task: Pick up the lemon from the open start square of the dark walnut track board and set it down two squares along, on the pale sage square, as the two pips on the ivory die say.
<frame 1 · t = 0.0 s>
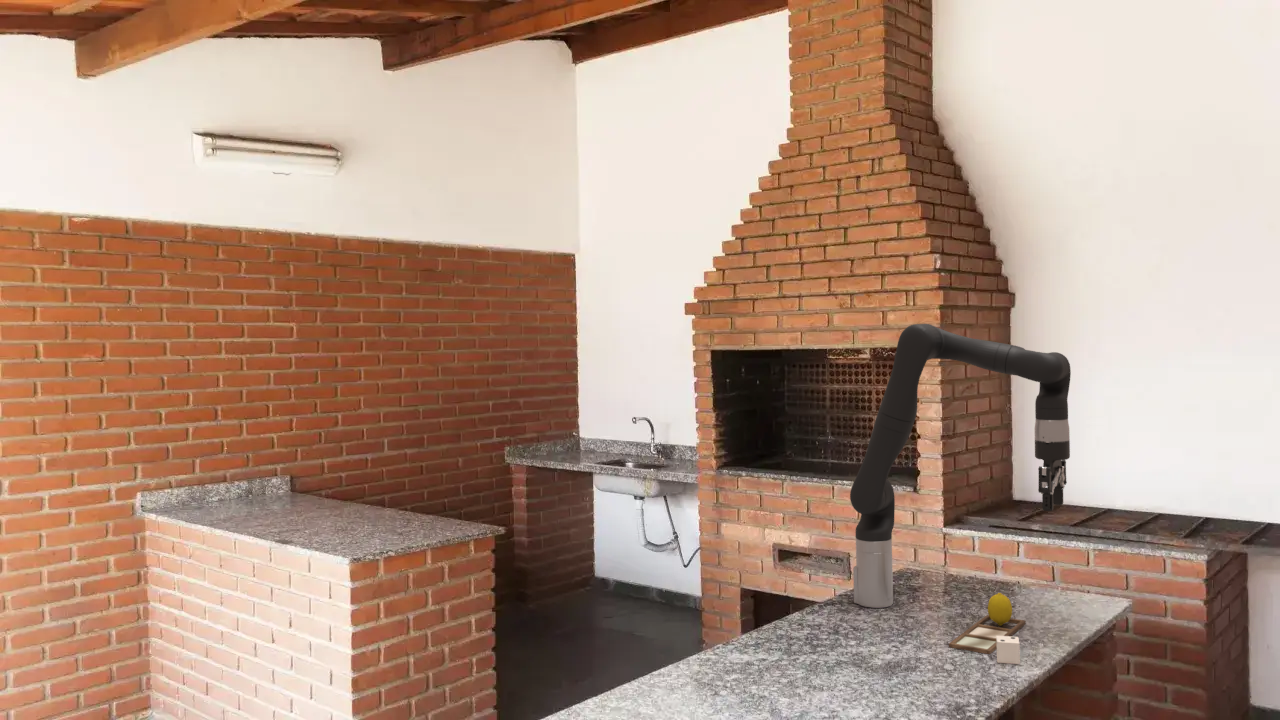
hand: (1053, 507, 231), 29 cm above the countertop, tool pointing down, fingers open, 8 cm apart
die: (1008, 660, 214), on the countertop
lemon: (1000, 626, 238), resting in track board
track board: (988, 635, 231), on the countertop
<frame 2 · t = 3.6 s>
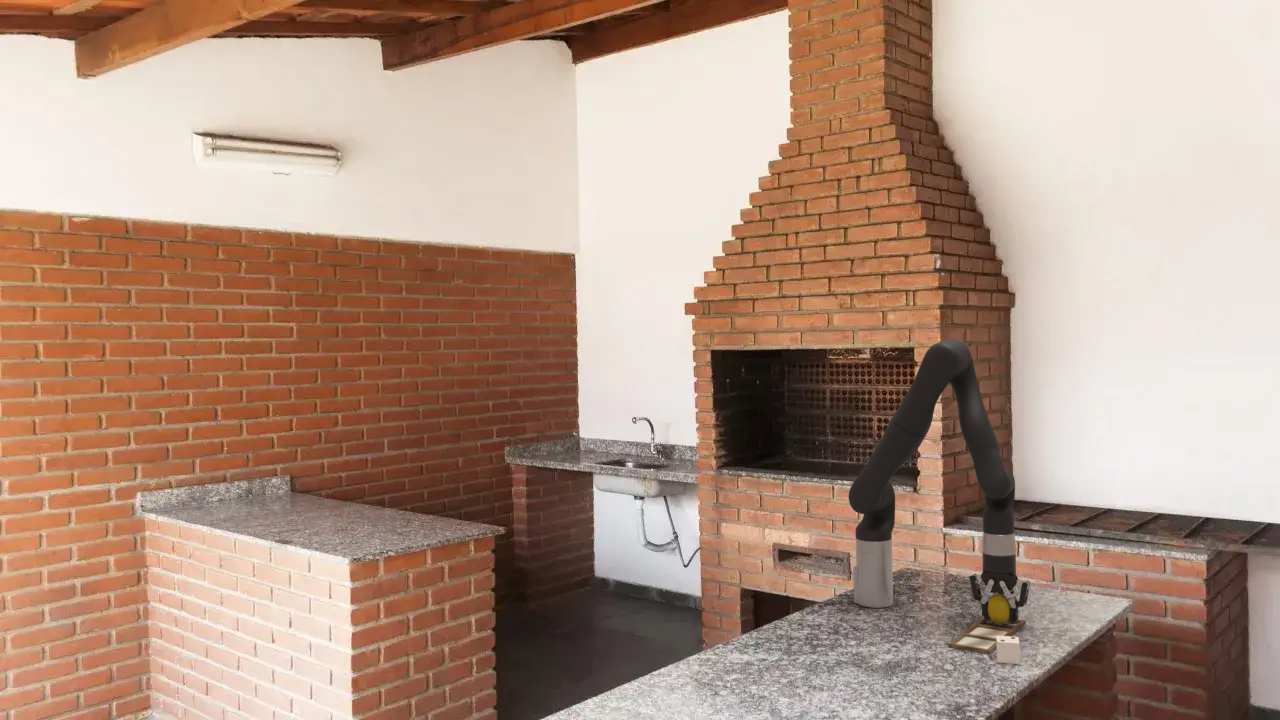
hand: (1000, 620, 238), 1 cm above the countertop, tool pointing down, fingers closed on lemon, 5 cm apart
lemon: (1000, 626, 238), resting in track board, touching gripper
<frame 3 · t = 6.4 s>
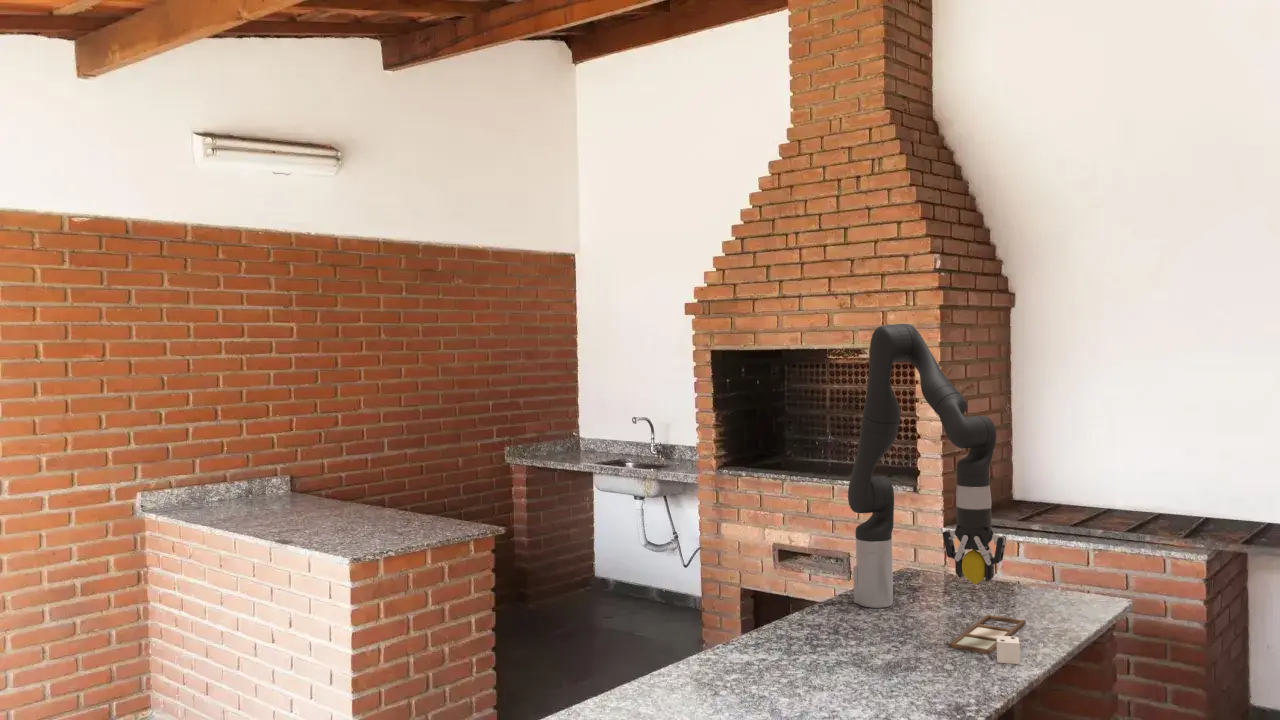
hand: (974, 578, 224), 15 cm above the countertop, tool pointing down, fingers closed on lemon, 5 cm apart
lemon: (974, 585, 224), point 14 cm above the countertop, touching gripper
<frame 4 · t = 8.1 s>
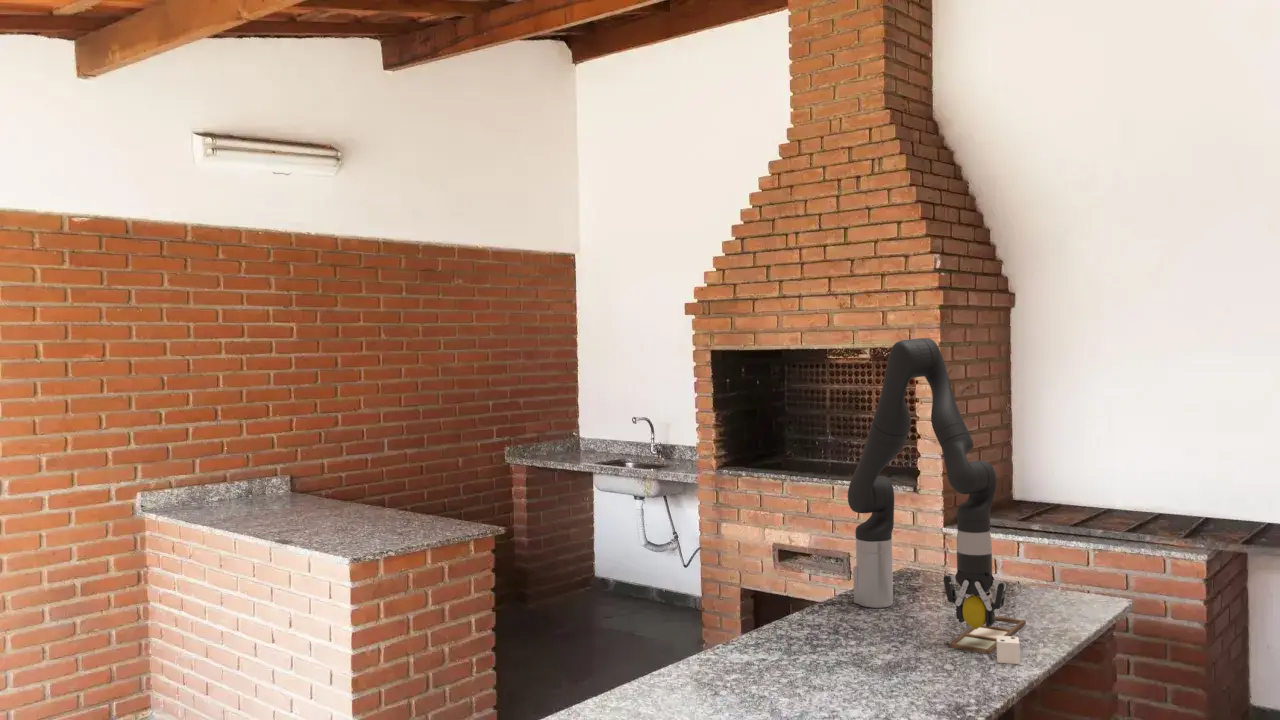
hand: (975, 623, 224), 5 cm above the countertop, tool pointing down, fingers closed on lemon, 5 cm apart
lemon: (975, 630, 224), point 3 cm above the countertop, touching gripper
when the fingers open (3 cm above the countertop, at t = 9.5 s): lemon drops 1 cm, resting on track board.
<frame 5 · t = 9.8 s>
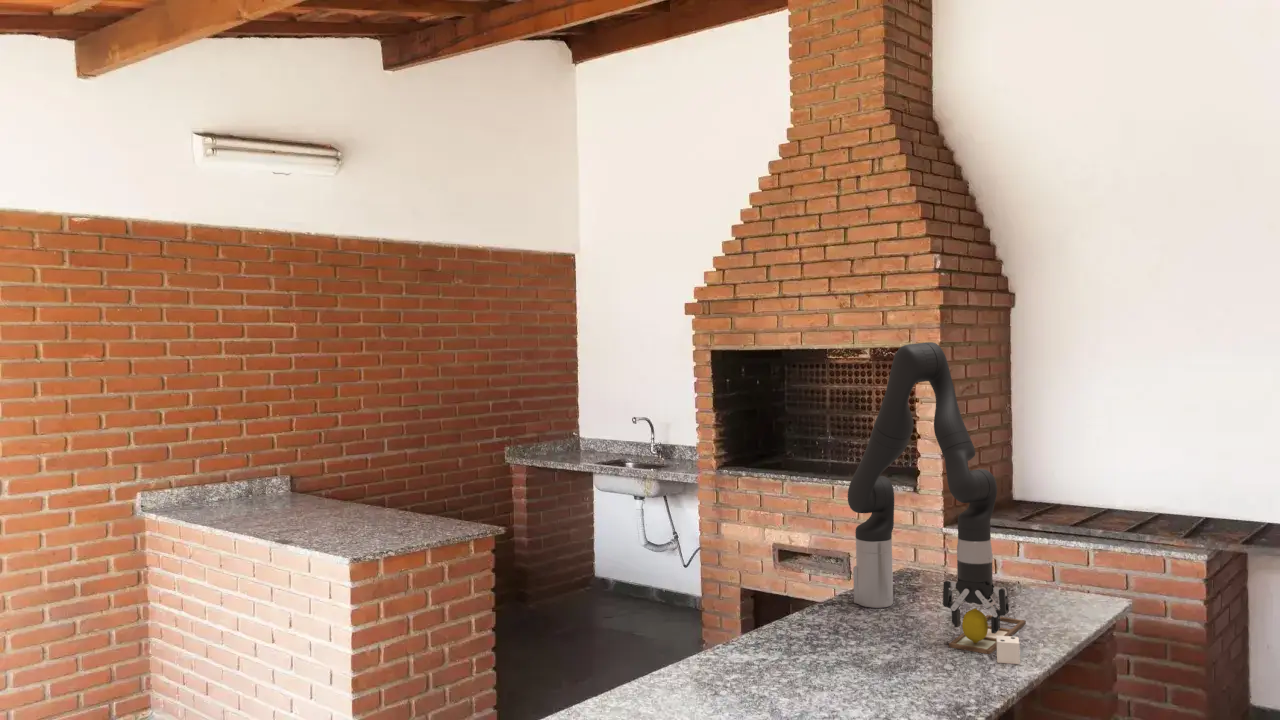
hand: (975, 629, 224), 4 cm above the countertop, tool pointing down, fingers open, 8 cm apart
lemon: (975, 644, 225), resting on track board
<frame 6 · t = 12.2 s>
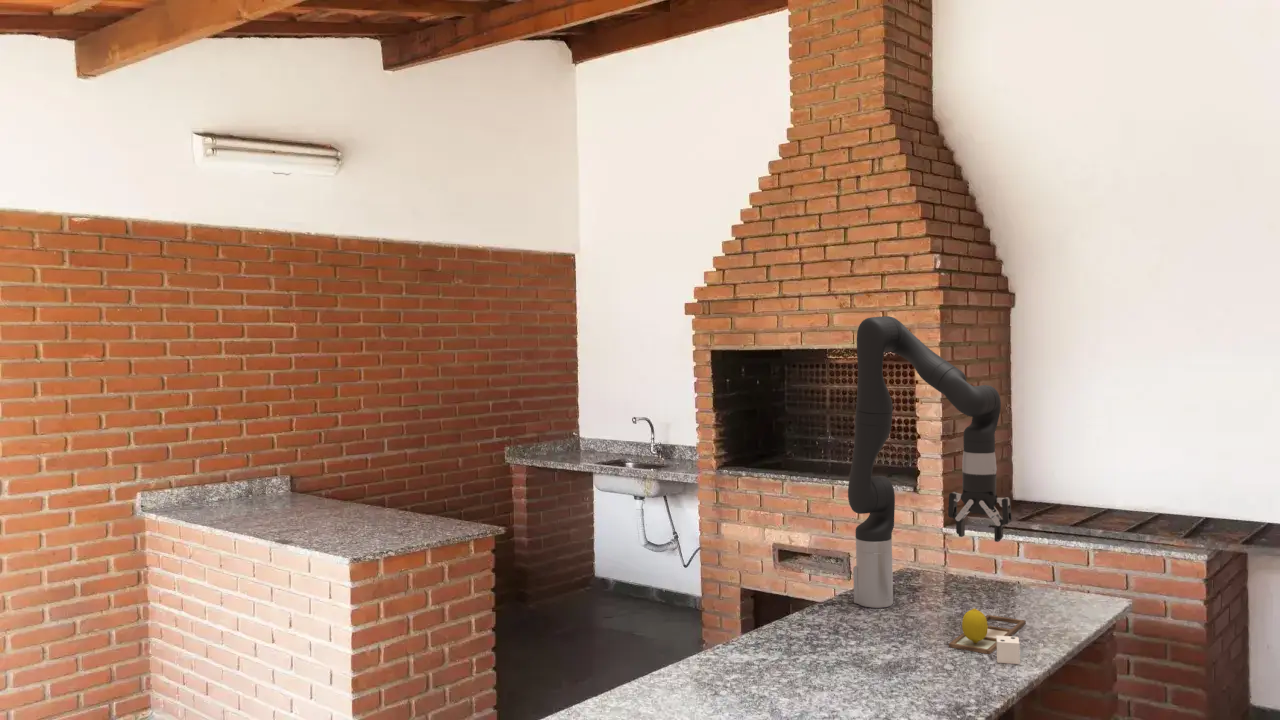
hand: (979, 538, 234), 22 cm above the countertop, tool pointing down, fingers open, 8 cm apart
nothing on the countertop moved.
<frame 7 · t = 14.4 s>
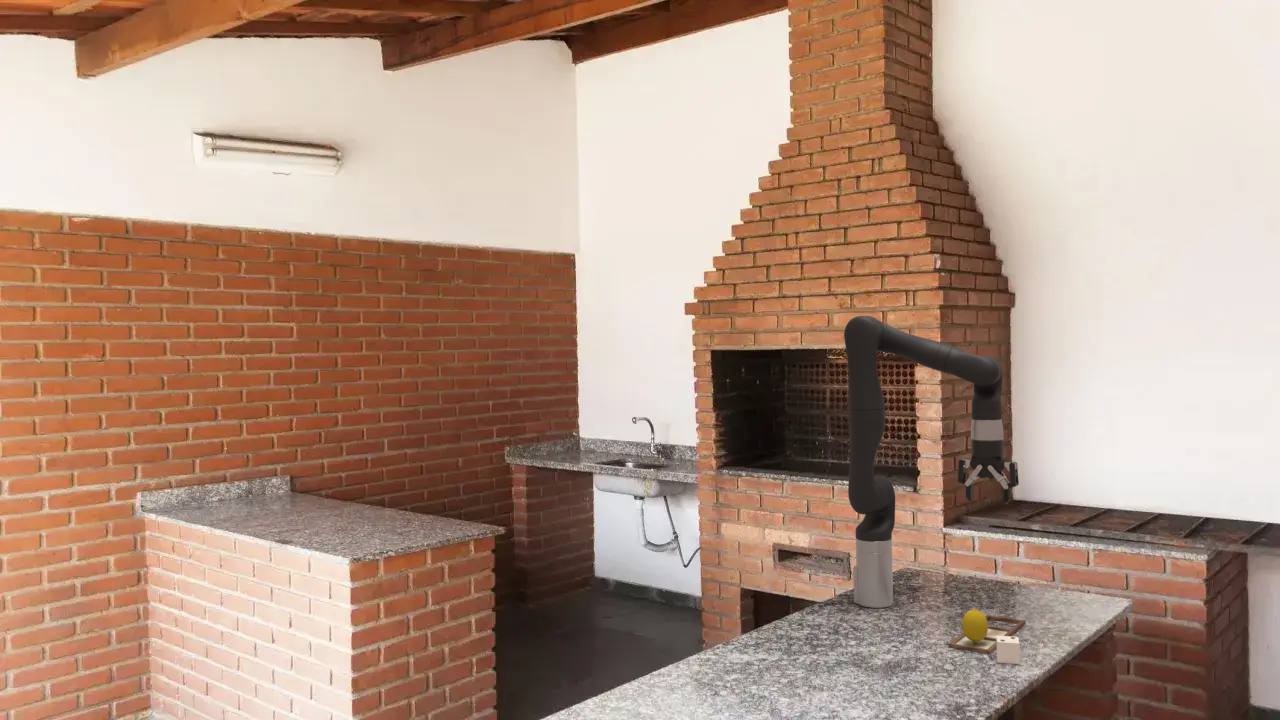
hand: (988, 502, 246), 28 cm above the countertop, tool pointing down, fingers open, 8 cm apart
nothing on the countertop moved.
at the end: lemon 0.2 cm from the target spot on the track board, point 0.1 cm above the track board's base; the gripper is holding nothing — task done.
